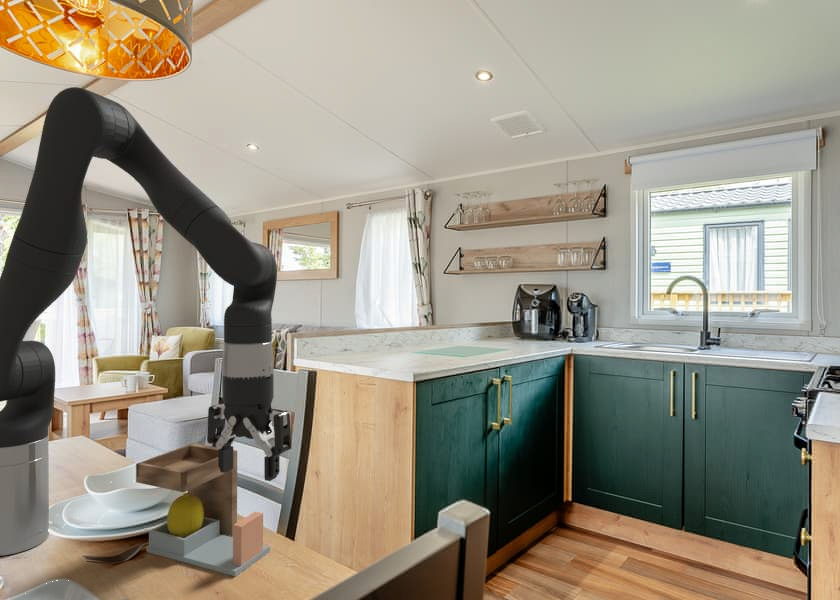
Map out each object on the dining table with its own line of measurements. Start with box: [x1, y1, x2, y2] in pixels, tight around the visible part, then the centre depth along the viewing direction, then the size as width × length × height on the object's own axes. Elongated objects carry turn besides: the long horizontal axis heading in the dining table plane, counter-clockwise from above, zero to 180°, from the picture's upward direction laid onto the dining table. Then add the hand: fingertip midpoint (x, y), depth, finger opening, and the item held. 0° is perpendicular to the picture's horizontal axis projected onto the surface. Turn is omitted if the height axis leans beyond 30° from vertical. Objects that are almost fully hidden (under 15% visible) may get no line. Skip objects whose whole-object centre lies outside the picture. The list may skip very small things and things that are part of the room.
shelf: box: [135, 443, 238, 537], centre depth 87 cm, size 10×12×14 cm
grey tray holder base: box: [146, 511, 271, 578], centre depth 84 cm, size 18×8×7 cm, turn 68°
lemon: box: [166, 492, 204, 538], centre depth 86 cm, size 6×6×8 cm
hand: (248, 475), depth 81 cm, fingers open, 8 cm apart
